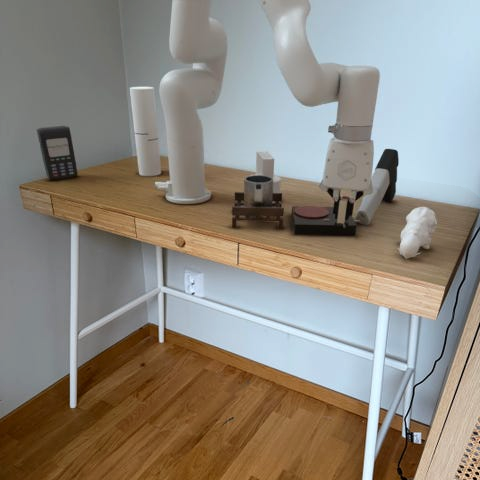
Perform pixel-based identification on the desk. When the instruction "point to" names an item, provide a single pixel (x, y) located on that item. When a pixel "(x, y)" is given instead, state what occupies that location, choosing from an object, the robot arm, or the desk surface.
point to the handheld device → (380, 186)
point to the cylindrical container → (145, 130)
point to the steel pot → (258, 191)
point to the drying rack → (257, 211)
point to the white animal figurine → (417, 231)
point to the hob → (323, 225)
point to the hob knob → (342, 209)
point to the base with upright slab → (267, 169)
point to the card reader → (57, 152)
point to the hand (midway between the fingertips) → (342, 217)
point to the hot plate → (311, 211)
